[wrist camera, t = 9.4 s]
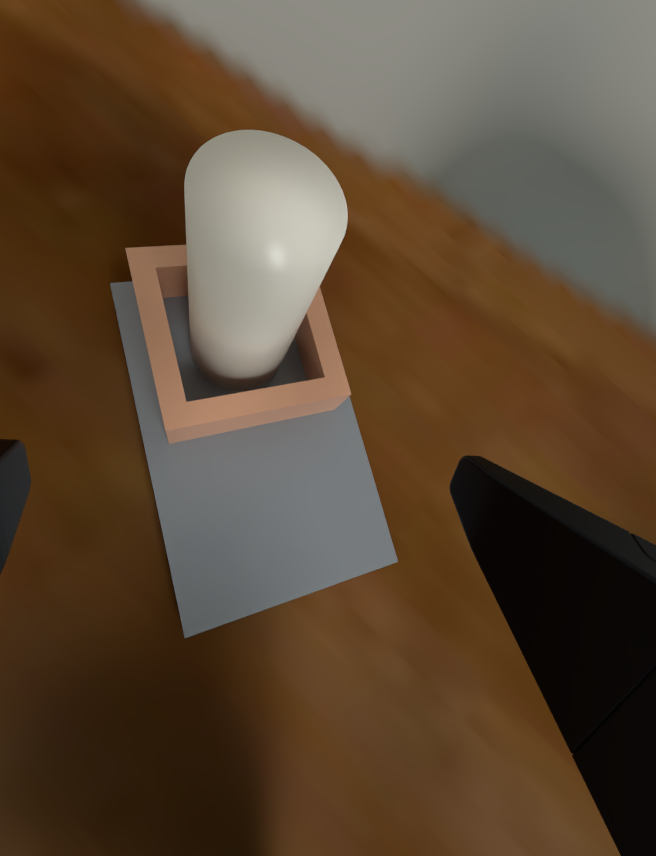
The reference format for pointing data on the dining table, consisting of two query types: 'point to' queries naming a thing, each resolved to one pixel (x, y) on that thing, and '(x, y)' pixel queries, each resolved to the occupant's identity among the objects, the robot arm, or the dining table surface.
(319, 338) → the candle stand
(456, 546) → the dining table surface
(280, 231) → the candle
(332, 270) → the dining table surface
